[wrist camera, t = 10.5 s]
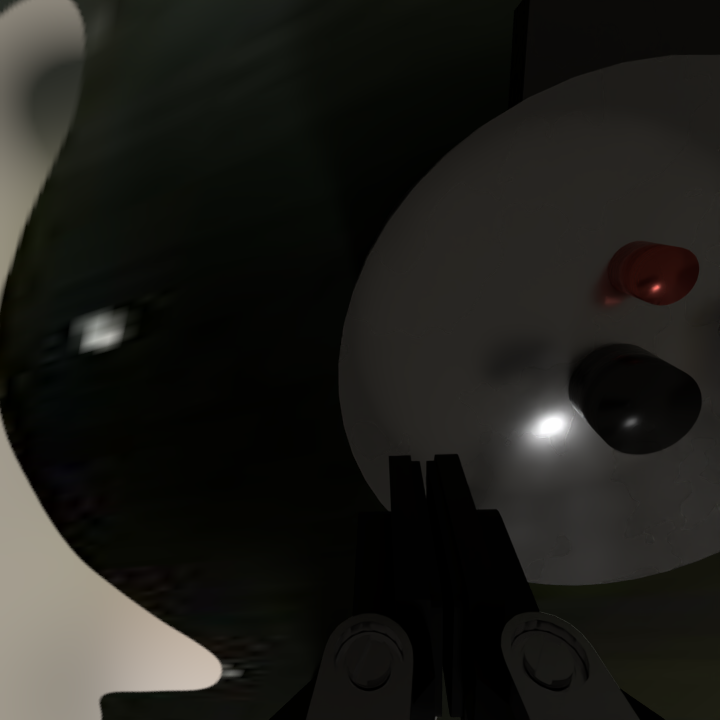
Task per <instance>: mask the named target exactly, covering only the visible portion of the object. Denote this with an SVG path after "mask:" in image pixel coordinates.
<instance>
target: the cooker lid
mask: <svg viewBox="0 0 720 720" xmlns="http://www.w3.org/2000/svg"><path fill="white" fill-rule="evenodd" d="M339 399H340V405H341V411H342V418H343V424H344V428H345V431H346V435H347V438H348V441H349V444H350V447H351V450H352V454H353V456H354V458H355V460H356V462H357V464H358V466H359V468H360V470H361V472H362V474H363V476H364V478H365V480H366V482H367V483H368V485H369V486H370V488H371V489H372V491H373V492H374V493H375V495H376V496H377V498H378V499H379V501H380V502H381V503H382V504H383V506H384V507H385V508H386V509H387V510H388V511H391V501H390V476H389V456H400V455H411V461H420V465H421V471H422V477H423V482H424V488H425V494H426V461H434V456H435V454H458V456H459V458H460V461H461V465H462V468H463V471H464V474H465V477H466V480H467V483H468V486H469V489H470V492H471V495H472V498H473V501H474V504H475V507H476V509H497V510H498V511H499V513H500V515H501V517H502V519H503V522H504V524H505V527H506V529H507V532H508V534H509V537H510V539H511V542H512V544H513V547H514V549H515V552H516V554H517V557H518V559H519V562H520V564H521V567H522V569H523V572H524V574H525V576H526V579H527V581H528V582H531V583H540V584H548V585H589V584H604V583H612V582H618V581H625V580H631V579H637V578H641V577H645V576H649V575H653V574H657V573H661V572H665V571H669V570H672V569H675V568H678V567H681V566H684V565H687V564H690V563H692V562H695V561H698V560H701V559H703V558H705V557H708V556H710V555H712V554H714V553H717V552H719V551H720V55H669V56H662V57H655V58H649V59H642V60H636V61H629V62H623V63H619V64H616V65H613V66H609V67H606V68H603V69H599V70H596V71H593V72H589V73H586V74H582V75H579V76H576V77H573V78H571V79H569V80H566V81H564V82H562V83H560V84H558V85H555V86H553V87H551V88H549V89H546V90H544V91H542V92H540V93H537V94H535V95H533V96H531V97H529V98H527V99H525V100H524V101H522V102H520V103H519V104H517V105H515V106H514V107H512V108H510V109H509V110H507V111H506V112H504V113H502V114H501V115H499V116H497V117H496V118H494V119H492V120H491V121H489V122H488V123H486V124H484V125H483V126H481V127H479V128H478V129H476V130H475V131H474V132H472V133H471V134H470V135H469V136H467V137H466V138H465V139H464V140H462V141H461V142H460V143H459V144H457V145H456V146H455V147H453V148H452V149H451V150H450V151H448V152H447V153H446V154H445V155H443V156H442V157H441V158H440V159H439V160H438V161H437V162H436V163H435V164H434V165H433V166H432V167H431V168H430V169H429V170H428V171H427V172H426V173H425V174H424V175H423V176H422V177H421V179H420V180H419V181H418V182H417V183H416V184H415V185H414V186H413V187H412V188H411V189H410V190H409V192H408V193H407V194H406V196H405V197H404V198H403V200H402V201H401V202H400V204H399V205H398V206H397V208H396V209H395V210H394V211H393V213H392V214H391V215H390V217H389V218H388V219H387V221H386V223H385V224H384V226H383V228H382V230H381V231H380V233H379V235H378V237H377V238H376V240H375V242H374V243H373V245H372V247H371V249H370V250H369V252H368V254H367V256H366V259H365V261H364V264H363V266H362V268H361V271H360V273H359V276H358V278H357V280H356V283H355V285H354V288H353V292H352V296H351V299H350V303H349V307H348V310H347V314H346V318H345V322H344V327H343V333H342V341H341V348H340V356H339Z"/></svg>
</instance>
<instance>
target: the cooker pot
mask: <svg viewBox="0 0 720 720" xmlns="http://www.w3.org/2000/svg"><path fill="white" fill-rule="evenodd" d="M669 55H720V0H522V1H521V2H520V4H519V5H518V6H517V8H516V9H515V10H514V23H513V39H512V55H511V72H510V88H509V104H508V110H509V109H510V108H512V107H514V106H515V105H517V104H519V103H520V102H522V101H524V100H525V99H527V98H529V97H531V96H533V95H535V94H537V93H540V92H542V91H544V90H546V89H549V88H551V87H553V86H555V85H558V84H560V83H562V82H564V81H566V80H569V79H571V78H573V77H576V76H579V75H582V74H586V73H589V72H593V71H596V70H599V69H603V68H606V67H609V66H613V65H616V64H619V63H623V62H629V61H636V60H642V59H649V58H655V57H662V56H669ZM420 179H421V178H420ZM420 179H419V180H420ZM419 180H417V181H416V182H415V183H414V184H413V185H412V186H411V187H410V188H409V189H408V190H407V191H406V192H405V193H404V194H403V195H402V197H401V198H400V199H399V201H398V202H397V203H396V205H395V206H394V207H393V208H392V210H391V211H390V212H389V214H388V216H387V218H386V219H385V221H384V223H383V224H382V226H381V228H380V230H379V232H378V234H377V237H378V235H379V233H380V231H381V230H382V228H383V226H384V224H385V223H386V221H387V219H388V218H389V217H390V215H391V214H392V213H393V211H394V210H395V209H396V208H397V206H398V205H399V204H400V202H401V201H402V200H403V198H404V197H405V196H406V194H407V193H408V192H409V190H410V189H411V188H412V187H413V186H414V185H415V184H416V183H417V182H418V181H419ZM377 237H376V238H377ZM375 240H376V239H375ZM374 242H375V241H374Z"/></svg>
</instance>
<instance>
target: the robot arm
mask: <svg viewBox="0 0 720 720" xmlns="http://www.w3.org/2000/svg"><path fill="white" fill-rule="evenodd" d="M389 476H390V501H391V511H388V512H359V516H358V532H357V550H356V567H355V584H354V602H353V617H350V618H349V619H347V620H346V621H344V622H343V623H341V624H340V625H339V626H338V627H337V628H336V629H335V630H334V632H333V633H332V634H331V635H330V638H329V640H328V642H327V644H326V647H325V650H324V654H323V658H322V661H321V665H320V669H319V673H318V674H317V675H316V676H315V677H314V678H313V679H312V680H311V681H310V682H309V683H308V684H307V685H306V686H305V687H303V688H302V689H301V690H300V691H299V692H298V693H297V694H296V695H295V696H294V697H293V698H292V699H291V700H290V701H289V702H287V703H286V704H285V705H284V706H283V707H282V708H281V709H280V710H279V711H278V712H277V713H276V714H275V715H274V716H273V717H271V718H270V719H269V720H436V719H437V717H442V665H443V672H444V679H445V686H446V693H447V700H448V707H449V712H450V716H451V717H461V720H665V719H663V718H662V717H661V716H659V715H658V714H656V713H655V712H653V711H652V710H650V709H649V708H647V707H646V706H645V705H643V704H642V703H640V702H639V701H637V700H636V699H634V698H633V697H631V696H630V695H629V694H627V693H626V692H624V691H623V690H621V689H620V688H619V687H618V685H617V684H616V682H615V681H614V679H613V678H612V676H611V674H610V673H609V671H608V670H607V668H606V667H605V665H604V664H603V662H602V661H601V659H600V657H599V656H598V654H597V653H596V651H595V650H594V648H593V647H592V645H591V644H590V643H589V642H588V640H587V639H586V638H585V637H584V636H583V634H582V633H581V632H579V631H578V630H577V629H576V628H574V627H573V626H572V625H571V624H569V623H568V622H566V621H564V620H562V619H560V618H558V617H556V616H554V615H550V614H546V613H542V612H540V611H539V609H538V606H537V604H536V601H535V599H534V596H533V594H532V591H531V589H530V586H529V584H528V581H527V579H526V576H525V574H524V572H523V569H522V567H521V564H520V562H519V559H518V557H517V554H516V552H515V549H514V547H513V544H512V542H511V539H510V537H509V534H508V532H507V529H506V527H505V524H504V522H503V519H502V517H501V515H500V513H499V511H498V510H497V509H476V507H475V504H474V501H473V498H472V495H471V492H470V489H469V486H468V483H467V480H466V477H465V474H464V471H463V468H462V465H461V461H460V458H459V456H458V454H435V456H434V461H426V494H425V488H424V482H423V477H422V471H421V465H420V461H411V455H400V456H389Z"/></svg>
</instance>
